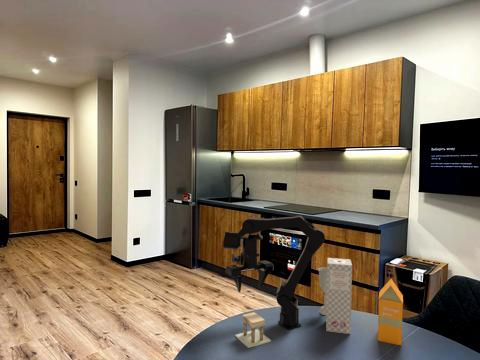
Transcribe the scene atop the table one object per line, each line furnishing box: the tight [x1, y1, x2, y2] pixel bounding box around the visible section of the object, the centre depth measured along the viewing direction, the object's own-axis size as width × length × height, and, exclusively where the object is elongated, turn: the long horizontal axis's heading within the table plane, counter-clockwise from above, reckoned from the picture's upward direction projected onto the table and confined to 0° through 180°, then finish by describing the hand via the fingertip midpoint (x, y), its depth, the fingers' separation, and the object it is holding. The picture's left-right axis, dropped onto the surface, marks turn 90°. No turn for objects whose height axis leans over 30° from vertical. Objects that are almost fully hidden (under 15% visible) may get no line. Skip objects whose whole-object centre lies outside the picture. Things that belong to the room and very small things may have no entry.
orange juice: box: [377, 278, 404, 346], centre depth 120 cm, size 8×9×20 cm
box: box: [325, 257, 353, 335], centre depth 126 cm, size 8×8×25 cm
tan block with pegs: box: [241, 311, 266, 343], centre depth 117 cm, size 7×5×7 cm
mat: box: [234, 328, 272, 349], centre depth 117 cm, size 9×9×1 cm
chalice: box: [317, 266, 327, 316], centre depth 139 cm, size 7×7×18 cm
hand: (249, 290), depth 131 cm, fingers open, 9 cm apart
